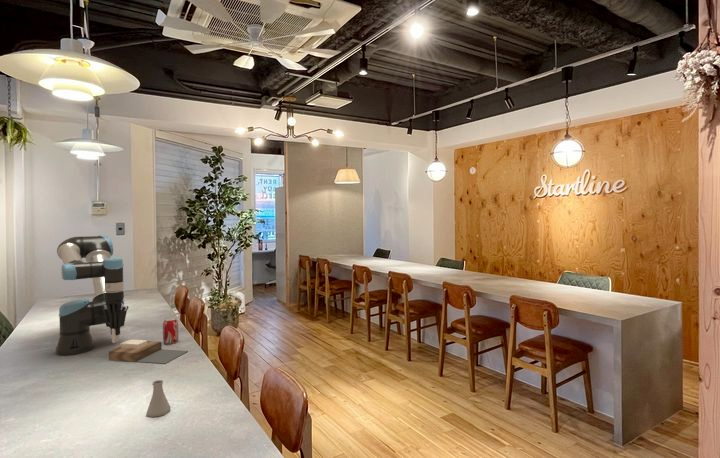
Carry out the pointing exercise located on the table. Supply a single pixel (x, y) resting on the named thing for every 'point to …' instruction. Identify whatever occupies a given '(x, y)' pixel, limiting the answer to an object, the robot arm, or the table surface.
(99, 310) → the robot arm
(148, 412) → the flask
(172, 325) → the soda can
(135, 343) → the tile
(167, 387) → the table surface
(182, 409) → the table surface
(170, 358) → the mat
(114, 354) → the deck
